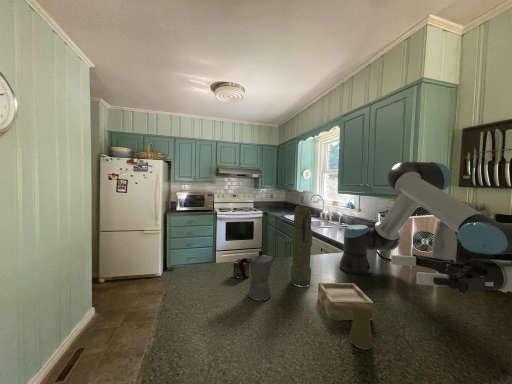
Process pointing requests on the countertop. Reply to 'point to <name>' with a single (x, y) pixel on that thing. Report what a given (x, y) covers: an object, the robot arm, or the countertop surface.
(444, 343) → the countertop surface
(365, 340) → the cork
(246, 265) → the box
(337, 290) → the oak stand
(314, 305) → the countertop surface
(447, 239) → the grey rounded cylinder
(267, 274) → the coffeepot
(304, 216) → the thermos
